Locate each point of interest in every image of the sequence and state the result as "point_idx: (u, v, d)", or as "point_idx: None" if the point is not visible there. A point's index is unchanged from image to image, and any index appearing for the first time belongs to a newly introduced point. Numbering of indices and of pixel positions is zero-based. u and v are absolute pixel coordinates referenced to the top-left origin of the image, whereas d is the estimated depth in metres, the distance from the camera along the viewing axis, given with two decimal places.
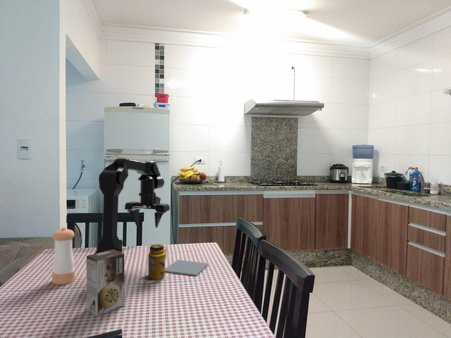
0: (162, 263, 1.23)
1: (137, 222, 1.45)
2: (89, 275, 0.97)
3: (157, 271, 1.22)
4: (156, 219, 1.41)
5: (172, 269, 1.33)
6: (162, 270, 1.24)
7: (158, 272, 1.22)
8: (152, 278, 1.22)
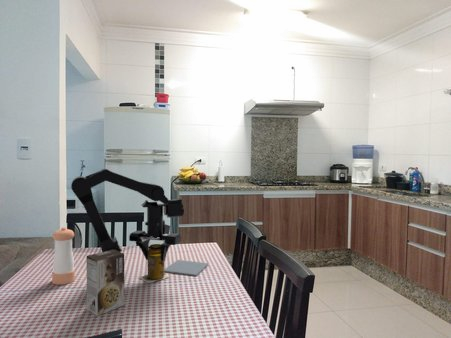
0: (161, 262, 1.24)
1: (147, 255, 1.25)
2: (89, 275, 0.97)
3: (156, 270, 1.22)
4: (162, 252, 1.21)
5: (172, 269, 1.33)
6: (162, 269, 1.24)
7: (158, 272, 1.23)
8: (152, 278, 1.23)
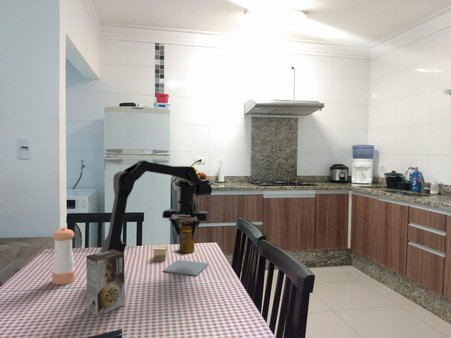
0: (192, 238, 1.34)
1: (179, 231, 1.36)
2: (89, 275, 0.97)
3: (188, 244, 1.33)
4: (194, 228, 1.32)
5: (172, 269, 1.33)
6: (192, 244, 1.35)
7: (189, 246, 1.33)
8: (184, 251, 1.33)
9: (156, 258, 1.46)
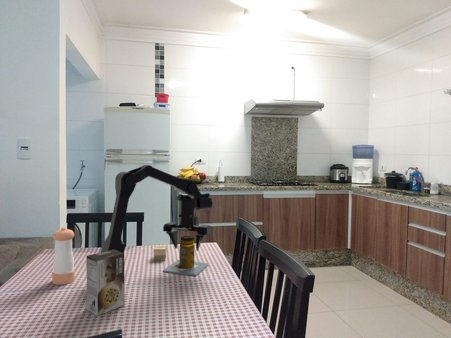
0: (192, 253, 1.35)
1: (176, 244, 1.37)
2: (89, 275, 0.97)
3: (188, 259, 1.34)
4: (197, 242, 1.32)
5: (172, 269, 1.33)
6: (192, 259, 1.35)
7: (189, 261, 1.34)
8: (184, 266, 1.34)
9: (156, 258, 1.46)
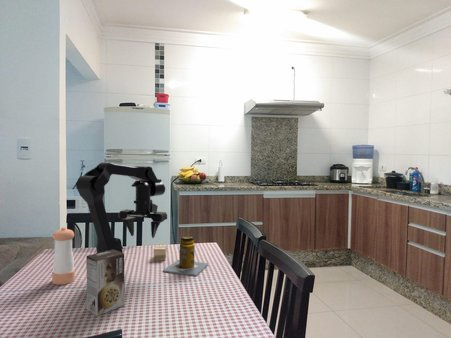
0: (192, 253, 1.35)
1: (132, 232, 1.34)
2: (89, 275, 0.97)
3: (188, 259, 1.34)
4: (152, 229, 1.30)
5: (172, 269, 1.33)
6: (192, 259, 1.35)
7: (189, 261, 1.34)
8: (184, 266, 1.34)
9: (156, 258, 1.46)
